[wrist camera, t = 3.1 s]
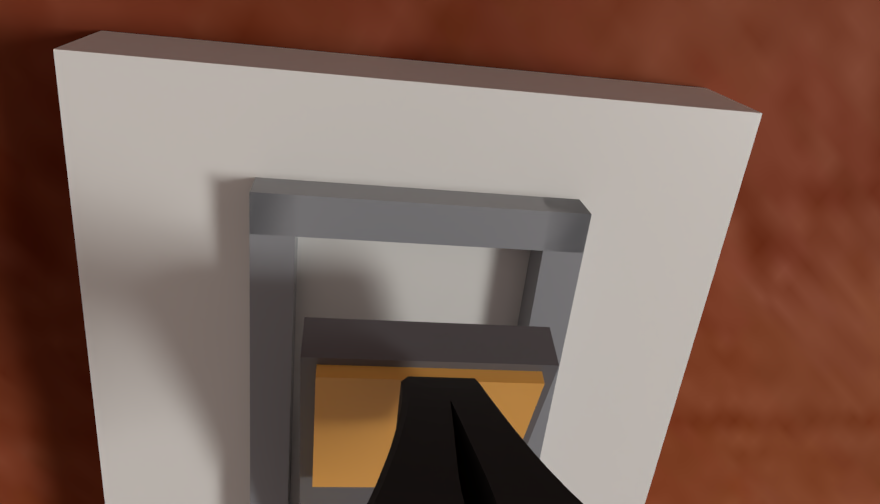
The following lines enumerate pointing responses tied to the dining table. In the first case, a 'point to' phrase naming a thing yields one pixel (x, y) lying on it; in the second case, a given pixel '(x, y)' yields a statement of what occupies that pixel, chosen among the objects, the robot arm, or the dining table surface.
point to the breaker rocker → (378, 388)
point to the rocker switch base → (378, 244)
